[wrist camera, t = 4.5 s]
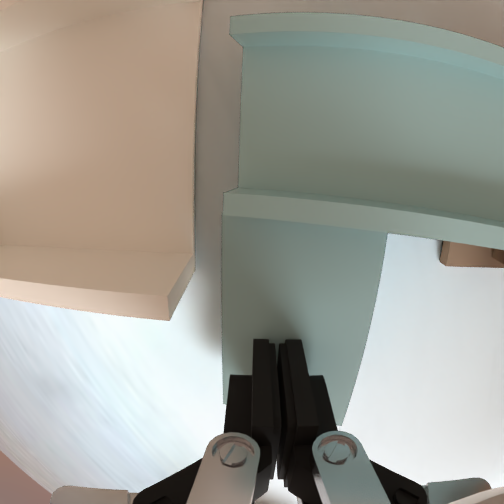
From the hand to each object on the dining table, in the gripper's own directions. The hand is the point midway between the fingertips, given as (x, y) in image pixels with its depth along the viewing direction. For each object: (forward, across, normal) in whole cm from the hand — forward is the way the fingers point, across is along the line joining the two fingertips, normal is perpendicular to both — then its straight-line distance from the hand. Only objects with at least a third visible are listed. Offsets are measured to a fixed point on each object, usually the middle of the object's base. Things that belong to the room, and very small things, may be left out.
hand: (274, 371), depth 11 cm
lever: (-2, -11, -5) cm, 12 cm away
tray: (+3, +9, -8) cm, 13 cm away
